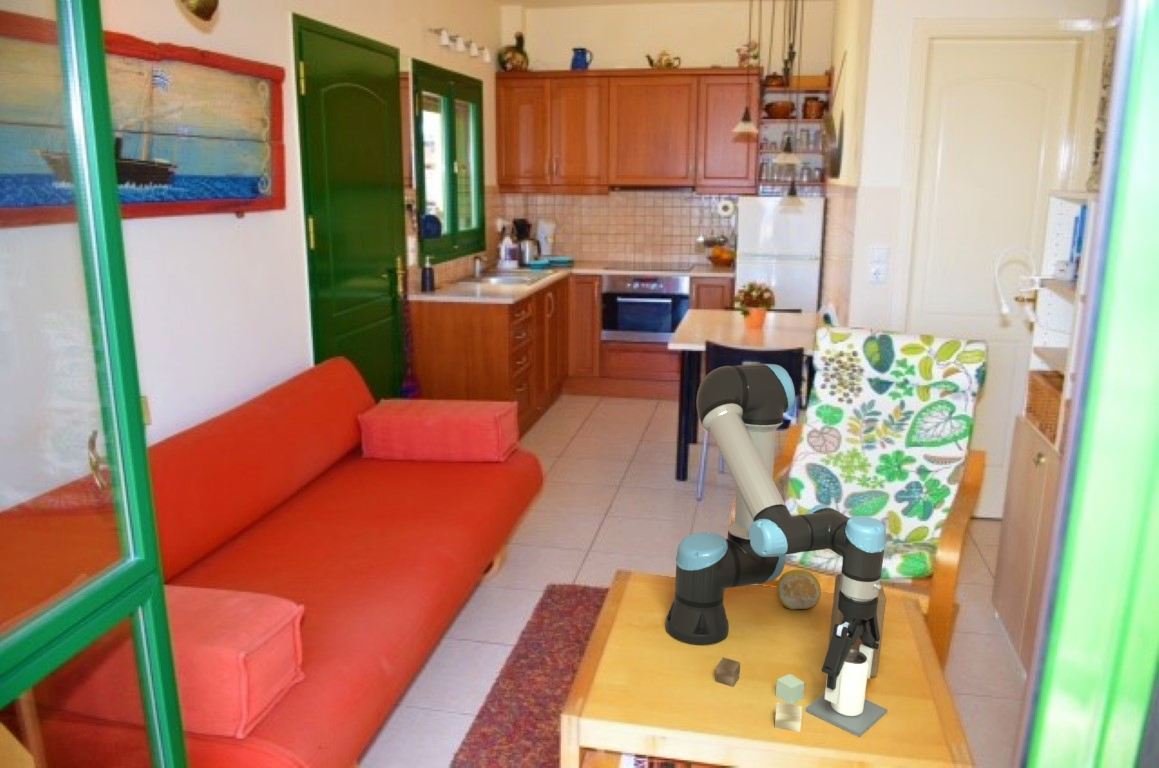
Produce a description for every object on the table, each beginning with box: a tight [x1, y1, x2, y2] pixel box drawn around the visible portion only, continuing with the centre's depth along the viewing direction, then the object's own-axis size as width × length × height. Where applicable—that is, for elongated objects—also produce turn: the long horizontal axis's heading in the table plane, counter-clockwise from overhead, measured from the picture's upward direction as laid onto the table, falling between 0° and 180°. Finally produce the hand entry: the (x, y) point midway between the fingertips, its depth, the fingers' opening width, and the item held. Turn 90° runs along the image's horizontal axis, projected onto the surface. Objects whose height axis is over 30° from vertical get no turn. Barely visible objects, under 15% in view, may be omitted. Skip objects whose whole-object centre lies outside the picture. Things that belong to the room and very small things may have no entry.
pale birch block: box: [774, 701, 803, 733], centre depth 176 cm, size 5×3×4 cm, turn 76°
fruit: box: [776, 569, 822, 610], centre depth 225 cm, size 10×11×10 cm
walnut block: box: [715, 657, 741, 688], centre depth 192 cm, size 4×4×4 cm
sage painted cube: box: [775, 673, 805, 705], centre depth 186 cm, size 4×4×4 cm
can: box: [831, 649, 868, 717], centre depth 180 cm, size 6×6×12 cm
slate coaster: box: [805, 692, 888, 738], centre depth 182 cm, size 12×12×1 cm
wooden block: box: [828, 573, 887, 678], centre depth 198 cm, size 10×10×20 cm
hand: (847, 687), depth 181 cm, fingers open, 13 cm apart
